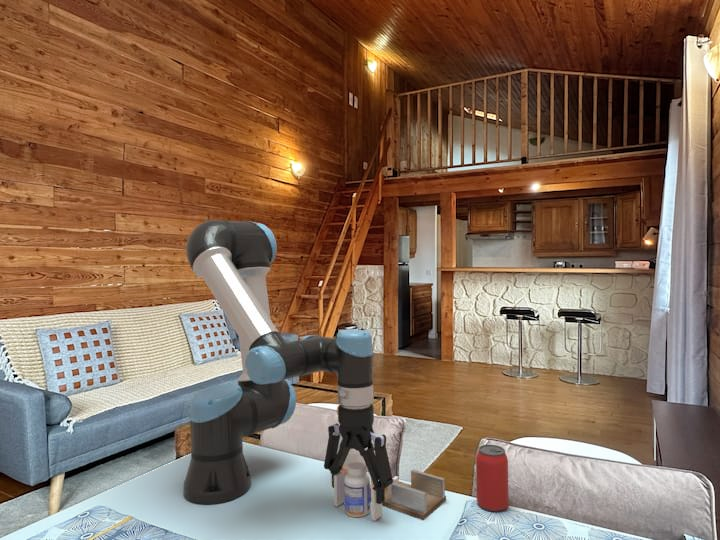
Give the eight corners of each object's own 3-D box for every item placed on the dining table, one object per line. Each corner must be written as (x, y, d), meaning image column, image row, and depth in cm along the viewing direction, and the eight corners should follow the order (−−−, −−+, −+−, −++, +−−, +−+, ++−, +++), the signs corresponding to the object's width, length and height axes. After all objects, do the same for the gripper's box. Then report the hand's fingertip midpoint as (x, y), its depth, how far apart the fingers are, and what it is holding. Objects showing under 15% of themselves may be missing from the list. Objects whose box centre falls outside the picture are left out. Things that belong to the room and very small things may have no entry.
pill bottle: (357, 502, 105) (357, 458, 104) (375, 511, 101) (374, 465, 101) (339, 511, 101) (338, 465, 101) (357, 521, 97) (356, 473, 97)
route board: (360, 497, 107) (360, 493, 106) (385, 481, 114) (385, 477, 114) (423, 520, 97) (423, 515, 97) (446, 500, 105) (446, 495, 105)
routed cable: (360, 491, 107) (360, 481, 107) (378, 480, 113) (377, 470, 113) (388, 501, 103) (388, 490, 103) (405, 489, 108) (404, 478, 108)
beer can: (510, 514, 99) (509, 456, 98) (477, 511, 100) (476, 454, 100) (507, 498, 105) (506, 444, 105) (476, 496, 106) (475, 442, 106)
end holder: (391, 502, 102) (391, 484, 102) (413, 486, 109) (413, 469, 109) (424, 514, 97) (424, 494, 97) (444, 496, 104) (444, 478, 104)
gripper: (305, 400, 104) (307, 502, 104) (389, 418, 91) (391, 535, 91) (328, 392, 110) (330, 489, 110) (409, 408, 97) (411, 518, 97)
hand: (357, 510), depth 101 cm, fingers open, 9 cm apart
